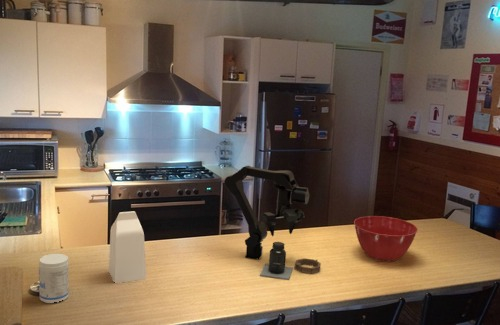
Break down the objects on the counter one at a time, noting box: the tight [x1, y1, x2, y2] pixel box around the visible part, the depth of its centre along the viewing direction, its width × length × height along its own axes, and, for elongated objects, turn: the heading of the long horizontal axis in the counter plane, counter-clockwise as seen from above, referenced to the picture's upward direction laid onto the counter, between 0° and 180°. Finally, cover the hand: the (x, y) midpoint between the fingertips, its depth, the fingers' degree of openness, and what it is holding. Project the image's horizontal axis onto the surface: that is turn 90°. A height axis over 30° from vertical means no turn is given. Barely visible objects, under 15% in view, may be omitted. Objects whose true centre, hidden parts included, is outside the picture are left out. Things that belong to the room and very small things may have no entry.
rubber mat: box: [259, 263, 294, 281], centre depth 199 cm, size 12×12×1 cm
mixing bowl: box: [353, 215, 419, 263], centre depth 222 cm, size 28×28×15 cm
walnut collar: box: [294, 257, 322, 275], centre depth 204 cm, size 10×10×3 cm
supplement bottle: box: [268, 241, 287, 274], centre depth 198 cm, size 7×7×12 cm
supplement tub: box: [38, 253, 70, 304], centre depth 166 cm, size 10×10×15 cm
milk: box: [108, 210, 147, 284], centre depth 186 cm, size 12×12×26 cm
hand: (281, 234), depth 208 cm, fingers open, 9 cm apart
